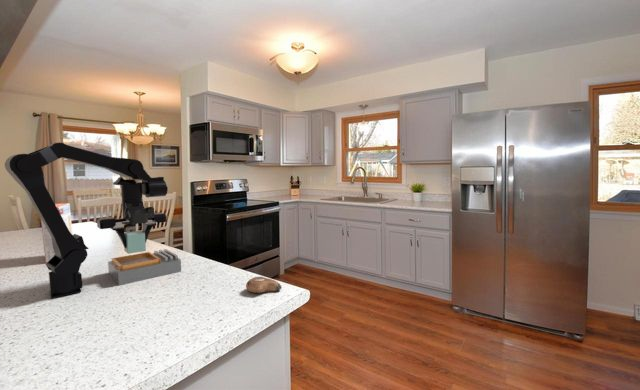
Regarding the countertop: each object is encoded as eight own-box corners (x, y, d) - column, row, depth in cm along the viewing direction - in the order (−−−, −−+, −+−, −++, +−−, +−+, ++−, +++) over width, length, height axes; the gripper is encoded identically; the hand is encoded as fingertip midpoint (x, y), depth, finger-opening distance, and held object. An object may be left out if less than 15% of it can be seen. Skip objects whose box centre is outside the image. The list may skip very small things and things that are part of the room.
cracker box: (56, 254, 127) (52, 203, 125) (74, 252, 130) (71, 202, 128) (43, 263, 114) (38, 207, 113) (64, 261, 117) (59, 206, 115)
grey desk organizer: (118, 285, 92) (117, 268, 92) (108, 273, 103) (107, 258, 103) (181, 271, 105) (180, 256, 104) (166, 261, 116) (165, 248, 115)
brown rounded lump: (263, 303, 82) (283, 293, 88) (264, 288, 81) (285, 280, 88) (240, 291, 87) (262, 282, 94) (241, 277, 87) (263, 270, 93)
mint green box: (128, 253, 98) (127, 235, 98) (122, 249, 103) (121, 231, 103) (145, 250, 101) (144, 232, 101) (139, 246, 107) (138, 229, 106)
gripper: (101, 202, 88) (105, 257, 89) (171, 198, 101) (173, 245, 102) (95, 200, 96) (98, 249, 97) (160, 196, 109) (162, 240, 110)
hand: (134, 246), depth 101 cm, fingers closed on mint green box, 5 cm apart
